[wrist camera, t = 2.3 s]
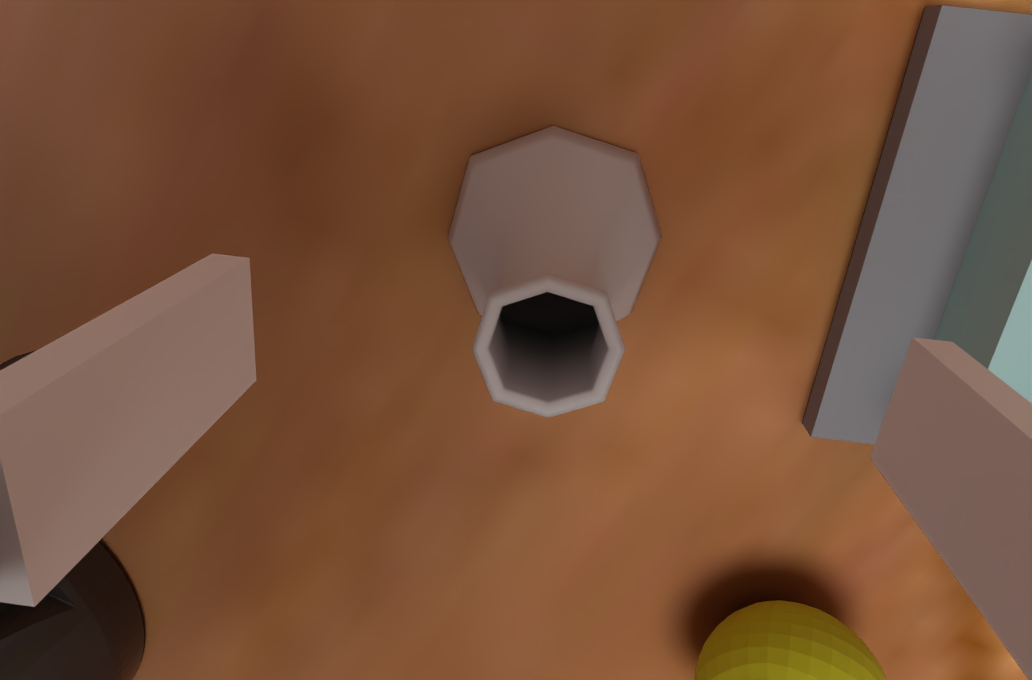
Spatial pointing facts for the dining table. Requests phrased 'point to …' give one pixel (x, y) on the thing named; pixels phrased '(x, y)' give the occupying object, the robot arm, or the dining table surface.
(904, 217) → the display stand
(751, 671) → the ornament
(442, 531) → the dining table surface
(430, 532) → the dining table surface
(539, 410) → the flask
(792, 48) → the dining table surface
